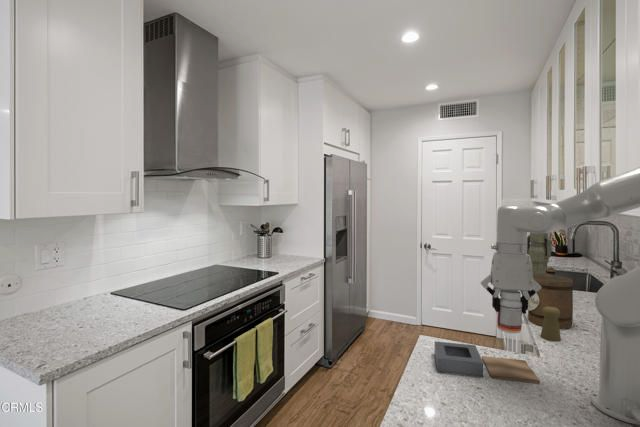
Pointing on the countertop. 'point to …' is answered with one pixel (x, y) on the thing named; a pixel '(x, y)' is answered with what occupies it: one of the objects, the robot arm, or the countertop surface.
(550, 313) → the cork
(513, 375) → the brown pad
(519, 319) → the pill bottle
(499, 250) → the robot arm
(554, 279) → the wooden container
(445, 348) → the metal collar
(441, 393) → the countertop surface
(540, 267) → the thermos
